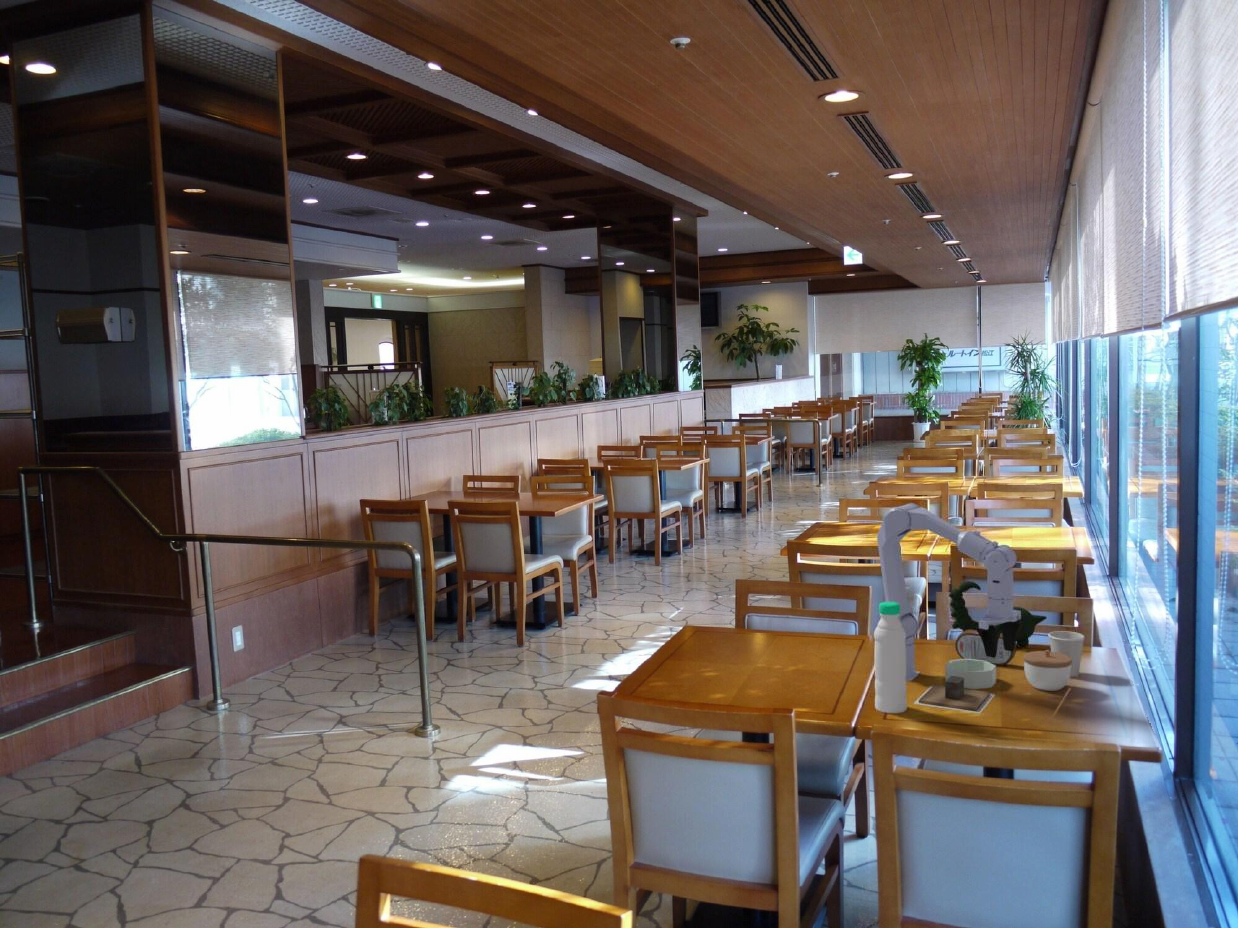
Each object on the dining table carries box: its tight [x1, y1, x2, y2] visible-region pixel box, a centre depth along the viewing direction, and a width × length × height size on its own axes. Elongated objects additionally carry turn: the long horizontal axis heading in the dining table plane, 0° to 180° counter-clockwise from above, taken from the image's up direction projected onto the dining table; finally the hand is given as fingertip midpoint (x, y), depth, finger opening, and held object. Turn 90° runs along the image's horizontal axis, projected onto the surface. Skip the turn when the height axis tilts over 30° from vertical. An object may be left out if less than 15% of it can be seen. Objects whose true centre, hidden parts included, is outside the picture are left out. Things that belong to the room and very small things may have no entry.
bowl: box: [944, 658, 997, 690], centre depth 244 cm, size 11×11×4 cm
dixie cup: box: [1047, 630, 1085, 678], centre depth 248 cm, size 8×8×10 cm
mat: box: [912, 685, 996, 715], centre depth 232 cm, size 15×15×1 cm
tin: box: [954, 630, 1017, 667], centre depth 260 cm, size 15×3×8 cm, turn 58°
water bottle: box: [873, 601, 908, 714], centre depth 226 cm, size 7×7×25 cm
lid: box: [919, 676, 991, 711], centre depth 232 cm, size 13×13×5 cm
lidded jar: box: [1022, 649, 1072, 692], centre depth 238 cm, size 11×11×9 cm
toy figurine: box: [948, 580, 1047, 648], centre depth 276 cm, size 9×19×25 cm
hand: (1000, 653), depth 235 cm, fingers open, 7 cm apart
